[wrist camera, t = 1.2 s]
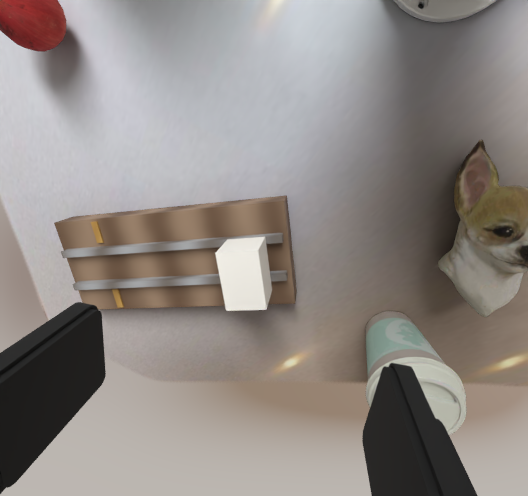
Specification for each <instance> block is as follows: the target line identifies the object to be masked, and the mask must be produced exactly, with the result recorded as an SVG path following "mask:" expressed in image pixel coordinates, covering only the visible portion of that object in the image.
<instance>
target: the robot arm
mask: <svg viewBox="0 0 528 496" xmlns="http://www.w3.org/2000/svg"><path fill="white" fill-rule="evenodd" d="M393 1H394V2H395V3H396V4H397V5H398V6H399V7H400V8H401V9H402V10H404V11H405V12H407V13H408V14H410V15H411V16H413V17H416V18H418V19H421V20H424V21H430V22H438V23H439V22H450V21H456V20H459V19H463V18H466V17H469V16H471V15H473V14H475V13H477V12H479V11H481V10H484V9H485V8H487V7H488V6H489V5H491V4H492V3H494V2H495V1H497V0H393ZM418 4H422V5H423V9H420V8H419V7H418ZM104 378H105V360H104V344H103V329H102V315H101V312H100V311H99V310H98V308H97V306H95V305H91V304H86V303H81V302H77V303H75V304H73V305H72V306H70V307H69V308H67V309H66V310H64V311H63V312H61V313H60V314H58V315H57V316H55V317H54V318H52V319H51V320H49V321H48V322H46V323H45V324H43V325H42V326H40V327H39V328H37V329H36V330H34V331H33V332H31V333H30V334H28V335H27V336H25V337H24V338H22V339H21V340H19V341H18V342H16V343H15V344H13V345H12V346H10V347H9V348H7V349H6V350H4V351H3V352H1V353H0V494H1V492H2V491H3V490H4V489H5V488H6V487H10V486H12V485H13V484H14V483H15V482H16V481H17V480H18V479H19V478H20V477H21V476H22V475H23V473H24V472H25V471H26V470H27V469H28V468H29V467H30V466H31V464H32V463H33V462H34V461H35V460H36V459H37V458H38V456H39V455H40V454H41V453H42V452H43V451H44V450H45V449H46V447H47V446H48V445H49V444H50V443H51V442H52V441H53V439H54V438H55V437H56V436H57V435H58V434H59V433H60V431H61V430H62V429H63V428H64V427H65V426H66V425H67V423H68V422H69V421H70V420H71V419H72V418H73V417H74V415H75V414H76V413H77V412H78V411H79V410H80V408H81V407H82V406H83V405H84V404H85V403H86V402H87V401H88V400H89V399H90V397H91V396H92V395H93V394H94V393H95V392H96V391H97V389H98V388H99V387H100V386H101V385H102V383H103V381H104ZM363 446H364V452H365V458H366V464H367V470H368V476H369V482H370V488H371V492H372V496H477V494H476V492H475V490H474V487H473V485H472V484H471V481H470V479H469V477H468V475H467V473H466V471H465V468H464V466H463V464H462V462H461V460H460V458H459V456H458V454H457V452H456V449H455V447H454V445H453V443H452V441H451V439H450V437H449V435H448V433H447V430H446V428H445V426H444V425H443V423H442V422H441V421H440V420H439V419H436V418H435V416H434V414H433V412H432V410H431V407H430V405H429V403H428V401H427V399H426V396H425V394H424V392H423V390H422V388H421V385H420V383H419V381H418V379H417V377H416V375H415V372H414V370H413V368H412V367H411V366H407V365H401V364H396V363H390V365H389V367H386V366H384V367H383V368H382V371H381V374H380V378H379V381H378V384H377V387H376V391H375V394H374V397H373V400H372V404H371V407H370V410H369V413H368V417H367V420H366V423H365V426H364V430H363Z"/></svg>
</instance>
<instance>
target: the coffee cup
mask: <svg viewBox="0 0 528 496" xmlns="http://www.w3.org/2000/svg"><path fill="white" fill-rule="evenodd" d="M365 333H366V353H367V371H368V383H367V386H366V399H367V402H368V404H369V407H371V404H372V400H373V397H374V394H375V391H376V387H377V384H378V381H379V378H380V374H381V371H382V368H383V367H384V366H386V367H389V365H390V363H396V364H401V365H407V366H411V367H412V368H413V370H414V372H415V375H416V377H417V379H418V381H419V383H420V385H421V388H422V390H423V392H424V394H425V396H426V399H427V401H428V403H429V405H430V407H431V410H432V412H433V414H434V416H435V418H436V419H439V420H440V421H441V422H442V423H443V425H444V426H445V428H446V430H447V433H448V435H451V434H452V433H454V432H455V431H456V430H457V429H458V428H459V427H460V426H461V425H462V423H463V422H464V419H465V416H466V394H465V390H464V387H463V384H462V381H461V379H460V378H459V376H458V375H457V374H456V373H455V372H454V371H453V370H452V369H451V368H450V367H448V366H447V365H445V363H444V362H443V361H442V359H441V358H440V357H439V355H438V354H437V353H436V352H435V350H434V349H433V348H432V346H431V345H430V344H429V342H428V341H427V340H426V339H425V337H424V336H423V335H422V333H421V332H420V331H419V329H418V328H417V327H416V326H415V324H414V323H413V322H412V321H411V319H410V318H409V317H407V316H406V315H404V314H402V313H400V312H396V311H386V312H382V313H379V314H377V315H375V316H374V317H372V318H371V319H370V320H369V322H368V323H367V326H366V330H365Z"/></svg>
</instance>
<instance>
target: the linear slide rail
mask: <svg viewBox="0 0 528 496" xmlns="http://www.w3.org/2000/svg"><path fill="white" fill-rule="evenodd" d="M54 224H55V226H56V229H57V232H58V235H59V238H60V240H61V243H62V246H63V249H64V251H62V252H61V254H62V256H63V258H67V260H68V263H69V266H70V268H71V271H72V274H73V277H74V279H75V282H76V283H75V284H73V287H74V290H78V291H79V293H80V296H81V299H82V302H83V303H86V304H91V305H95V306H97V308H98V309H128V308H161V307H193V306H225V302H224V297H223V292H222V286H221V281H220V276H219V270H218V265H217V260H216V255H215V253H216V252H217V251H218V249H219V248H220V247H221V246H222V245H223V244H224V243H225V241H226V240H227V239H241V238H254V237H265V239H266V246H267V254H268V262H269V269H270V277H271V284H272V293H271V296H270V300H269V303H268V304H291V303H295V300H296V292H297V290H296V281H295V271H294V261H293V251H292V242H291V232H290V222H289V213H288V203H287V196H278V197H268V198H258V199H248V200H238V201H228V202H218V203H208V204H198V205H188V206H178V207H167V208H157V209H147V210H137V211H127V212H117V213H107V214H97V215H87V216H77V217H71V218H68V219H65V220H62V221H59V222H56V223H54Z"/></svg>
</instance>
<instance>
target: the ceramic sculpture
mask: <svg viewBox="0 0 528 496" xmlns="http://www.w3.org/2000/svg"><path fill="white" fill-rule="evenodd" d="M498 181H499V177H498V172H497V170H496V167H495V165H494V164H493V162H492V161H491V159H490V157H489V156H488V154H487V152H486V150H485V146H484V142H483V140H479V141H478V143H477V144H476V145H475V147H474V148H473V149H472V151H471V152H470V153H469V154H468V156H467V157H466V159H465V160H464V162H463V164H462V166H461V168H460V170H459V172H458V174H457V177H456V184H455V188H454V204H455V209H456V211H457V213H458V215H459V217H460V219H461V220H460V222H459V226H458V231H457V234H456V237H455V242H454V245H453V248H452V249H451V250H450V251H449V252H448V253H447V254H445V255H444V256H443V257H442V258H441V259H440V260H439V262H438V266H439V269H440V270H442V271H443V272H444V273H445V274H446V275H447V276H448V277H449V278H450V279H451V280H452V282H453V283H454V285H455V288H456V289H457V291H458V292H459V293H460V295H461V296H462V297H463V298H464V299H465V300H466V302H467V303H468V304H469V305H470V306H472V307H473V308H474V309H475V310H476V311H477V313H478V314H480V315H482V316H483V317H488V316H489V315H490V314H491V313H492V312H493V311H495V310H497V309H499V308H500V307H502V306H504V305H506V304H507V303H509V301H510V300H511V299H512V298H513V297H515V295H516V294H517V292H518V290H519V287H520V282H521V280H522V275H523V273H524V272H526V271H528V188H525V187H521V186H499V185H498Z"/></svg>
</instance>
